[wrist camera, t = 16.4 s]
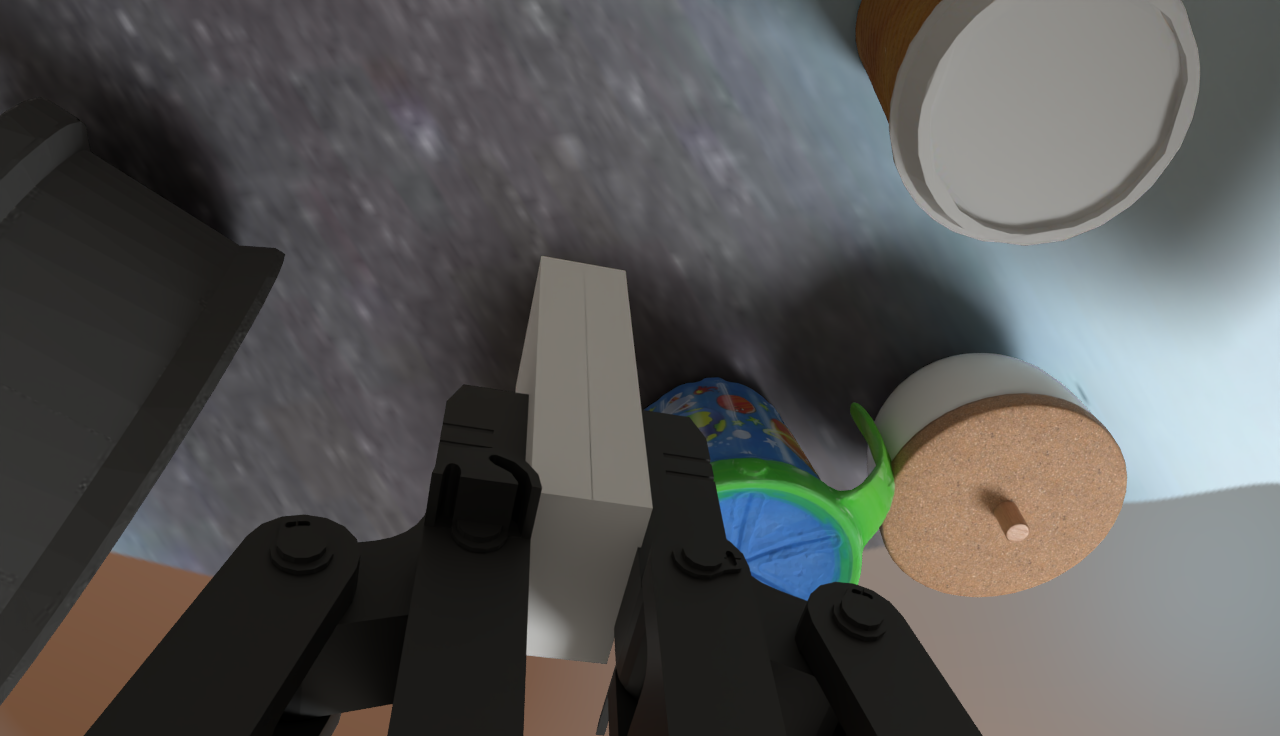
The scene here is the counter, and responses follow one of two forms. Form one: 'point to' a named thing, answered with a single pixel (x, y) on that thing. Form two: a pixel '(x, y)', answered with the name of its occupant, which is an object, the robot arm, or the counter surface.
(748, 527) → the snack cup
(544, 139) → the counter surface
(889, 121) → the disposable coffee cup
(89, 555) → the wheel rim
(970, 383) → the lidded jar
